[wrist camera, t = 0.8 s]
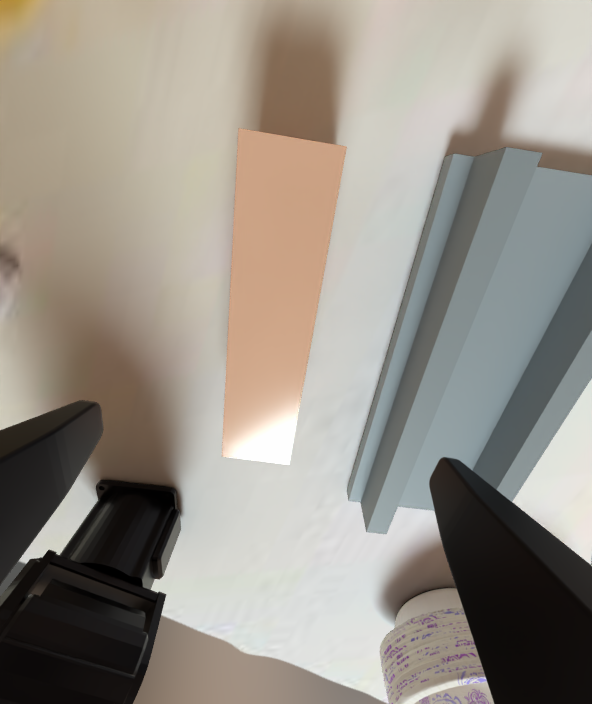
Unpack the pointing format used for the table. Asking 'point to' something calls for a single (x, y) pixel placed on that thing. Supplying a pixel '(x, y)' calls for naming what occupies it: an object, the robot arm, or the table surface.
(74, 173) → the table surface
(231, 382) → the clay strip
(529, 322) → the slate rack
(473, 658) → the white purple speckled bowl
